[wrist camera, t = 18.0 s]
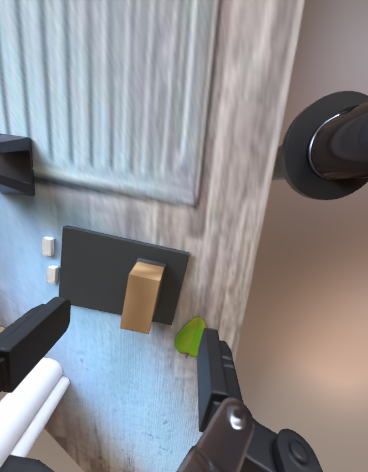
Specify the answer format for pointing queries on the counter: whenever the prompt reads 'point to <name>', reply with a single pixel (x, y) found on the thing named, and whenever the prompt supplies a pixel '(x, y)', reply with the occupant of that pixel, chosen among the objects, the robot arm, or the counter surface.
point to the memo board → (114, 271)
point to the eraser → (142, 295)
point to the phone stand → (16, 165)
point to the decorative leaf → (190, 337)
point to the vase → (30, 408)
